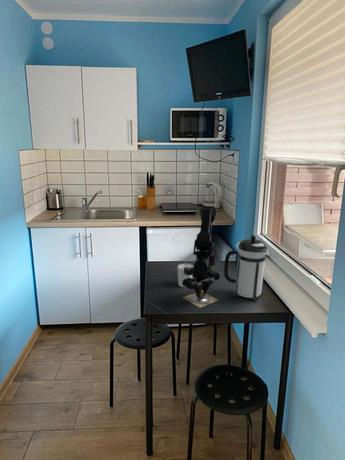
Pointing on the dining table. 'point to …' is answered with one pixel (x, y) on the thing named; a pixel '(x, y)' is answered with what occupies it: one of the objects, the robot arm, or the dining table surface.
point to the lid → (200, 298)
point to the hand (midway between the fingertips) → (200, 296)
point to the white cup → (181, 273)
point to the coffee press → (248, 267)
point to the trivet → (200, 303)
